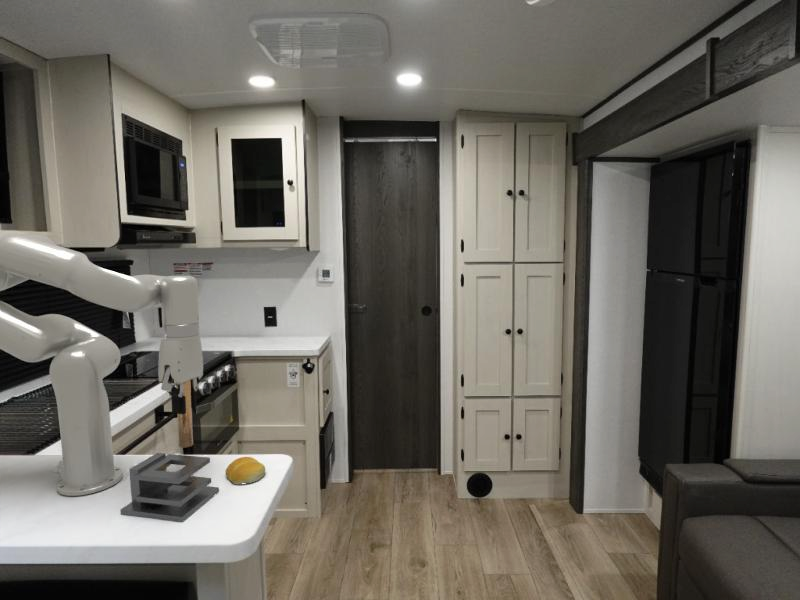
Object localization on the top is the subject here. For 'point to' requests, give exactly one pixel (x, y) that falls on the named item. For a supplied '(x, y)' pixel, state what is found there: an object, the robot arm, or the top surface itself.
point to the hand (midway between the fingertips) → (184, 409)
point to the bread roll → (245, 470)
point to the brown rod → (186, 419)
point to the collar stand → (168, 488)
